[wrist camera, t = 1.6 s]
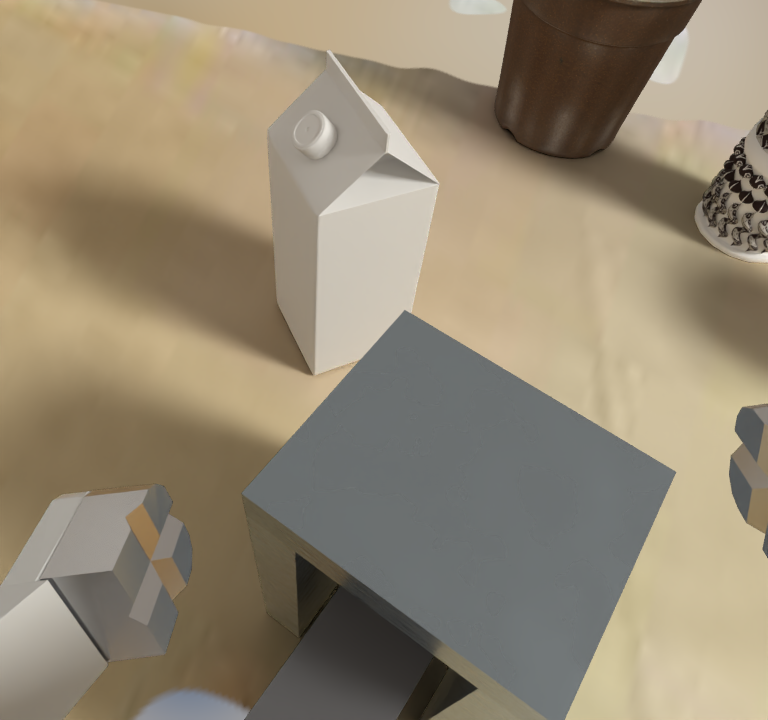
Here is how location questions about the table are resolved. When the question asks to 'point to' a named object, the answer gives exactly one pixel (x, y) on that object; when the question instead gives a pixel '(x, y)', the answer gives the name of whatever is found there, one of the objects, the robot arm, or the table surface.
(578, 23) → the plant pot
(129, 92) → the table surface
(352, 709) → the orange and grey block
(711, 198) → the white and brown cylinder
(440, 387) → the frame
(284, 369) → the table surface
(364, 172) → the milk carton
